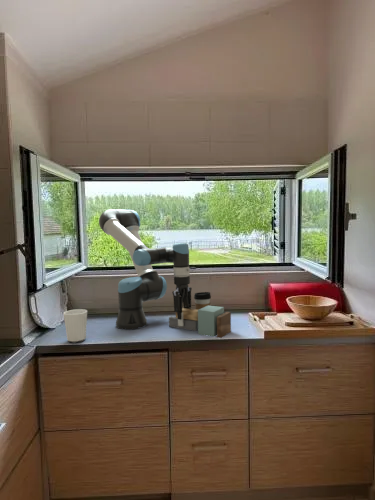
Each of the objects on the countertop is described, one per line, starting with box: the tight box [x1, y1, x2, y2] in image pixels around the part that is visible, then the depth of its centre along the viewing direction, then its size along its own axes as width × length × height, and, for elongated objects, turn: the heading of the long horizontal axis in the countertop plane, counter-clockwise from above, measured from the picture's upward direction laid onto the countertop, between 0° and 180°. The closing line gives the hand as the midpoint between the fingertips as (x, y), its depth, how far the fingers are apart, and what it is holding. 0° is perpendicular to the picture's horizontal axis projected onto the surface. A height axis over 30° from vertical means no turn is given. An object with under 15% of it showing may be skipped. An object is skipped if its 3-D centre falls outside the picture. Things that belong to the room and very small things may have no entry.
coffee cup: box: [193, 291, 212, 310], centre depth 173 cm, size 8×8×15 cm
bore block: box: [197, 305, 225, 338], centre depth 156 cm, size 8×10×11 cm
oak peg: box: [175, 307, 198, 321], centre depth 161 cm, size 14×4×4 cm, turn 58°
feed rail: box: [168, 315, 198, 332], centre depth 164 cm, size 15×2×4 cm, turn 58°
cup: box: [63, 308, 88, 344], centre depth 149 cm, size 10×10×13 cm
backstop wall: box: [216, 311, 232, 339], centre depth 152 cm, size 2×10×9 cm, turn 148°
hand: (183, 324), depth 164 cm, fingers closed on oak peg, 4 cm apart
